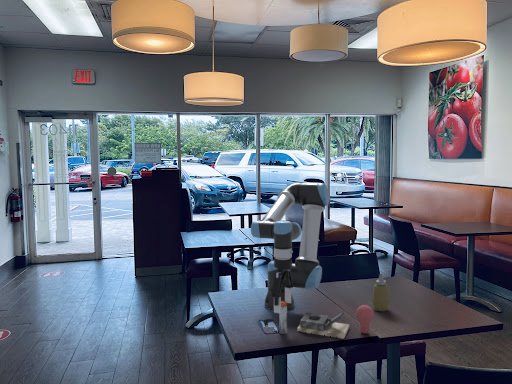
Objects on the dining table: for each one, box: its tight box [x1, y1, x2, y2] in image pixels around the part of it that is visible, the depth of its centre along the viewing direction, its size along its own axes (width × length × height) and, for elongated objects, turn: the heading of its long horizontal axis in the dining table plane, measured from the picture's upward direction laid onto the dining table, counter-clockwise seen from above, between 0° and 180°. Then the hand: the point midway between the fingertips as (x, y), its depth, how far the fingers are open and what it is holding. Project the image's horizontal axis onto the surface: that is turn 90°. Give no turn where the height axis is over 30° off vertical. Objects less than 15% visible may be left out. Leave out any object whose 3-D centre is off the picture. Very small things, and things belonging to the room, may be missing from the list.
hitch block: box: [296, 312, 350, 340], centre depth 178 cm, size 20×12×4 cm, turn 67°
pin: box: [278, 301, 288, 335], centre depth 175 cm, size 3×3×14 cm
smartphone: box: [257, 317, 279, 334], centre depth 182 cm, size 7×1×15 cm
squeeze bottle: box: [371, 272, 390, 312], centre depth 201 cm, size 8×8×18 cm
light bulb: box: [355, 304, 375, 334], centre depth 174 cm, size 7×7×12 cm
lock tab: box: [327, 311, 345, 327], centre depth 176 cm, size 9×5×1 cm
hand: (282, 307), depth 174 cm, fingers open, 13 cm apart
